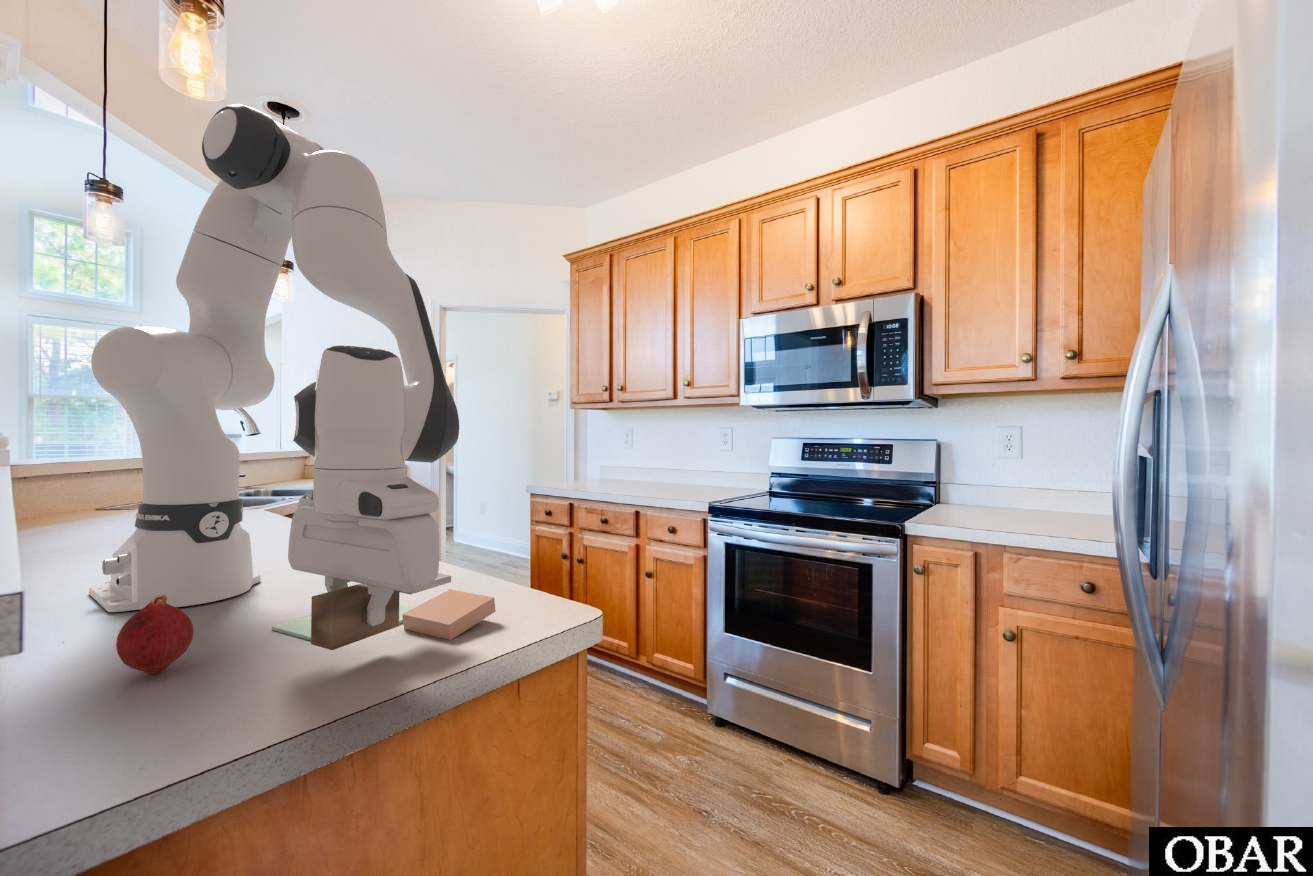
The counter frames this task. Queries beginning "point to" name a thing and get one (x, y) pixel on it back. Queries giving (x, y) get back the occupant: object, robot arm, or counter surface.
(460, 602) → the tile
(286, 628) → the plate
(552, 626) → the counter surface
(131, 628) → the onion
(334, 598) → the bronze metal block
